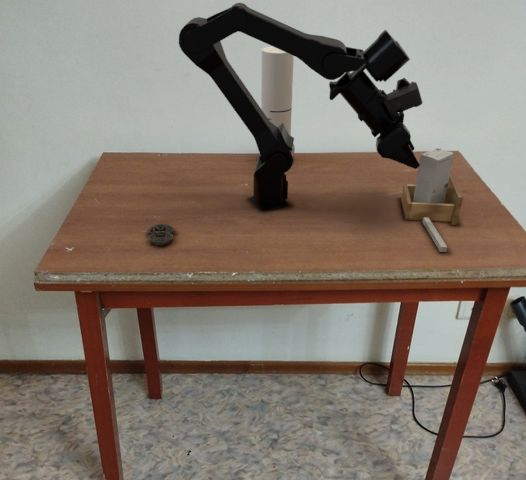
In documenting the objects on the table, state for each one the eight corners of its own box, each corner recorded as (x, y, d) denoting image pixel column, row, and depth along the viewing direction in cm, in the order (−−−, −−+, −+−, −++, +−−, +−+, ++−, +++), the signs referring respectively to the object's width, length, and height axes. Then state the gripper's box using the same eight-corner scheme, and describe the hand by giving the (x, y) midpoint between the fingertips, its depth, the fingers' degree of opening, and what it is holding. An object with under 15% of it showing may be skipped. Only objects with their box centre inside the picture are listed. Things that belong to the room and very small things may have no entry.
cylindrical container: (286, 166, 144) (291, 54, 128) (258, 164, 145) (258, 52, 129) (291, 156, 149) (296, 47, 134) (264, 153, 150) (265, 45, 135)
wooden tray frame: (406, 222, 120) (410, 194, 117) (400, 196, 131) (404, 169, 127) (456, 225, 120) (463, 197, 116) (447, 198, 130) (452, 172, 126)
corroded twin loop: (147, 247, 111) (147, 242, 110) (148, 228, 117) (147, 223, 116) (174, 246, 111) (174, 241, 111) (174, 227, 118) (173, 222, 117)
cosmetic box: (427, 218, 122) (438, 160, 115) (409, 211, 125) (419, 154, 117) (444, 209, 126) (456, 152, 118) (426, 202, 128) (436, 147, 121)
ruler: (446, 251, 111) (447, 247, 110) (440, 252, 111) (441, 247, 110) (427, 221, 120) (428, 217, 120) (422, 221, 120) (423, 217, 120)
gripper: (405, 81, 101) (457, 147, 107) (396, 56, 116) (442, 115, 122) (354, 126, 107) (407, 187, 113) (351, 97, 121) (398, 152, 127)
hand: (415, 158), depth 119 cm, fingers open, 9 cm apart
